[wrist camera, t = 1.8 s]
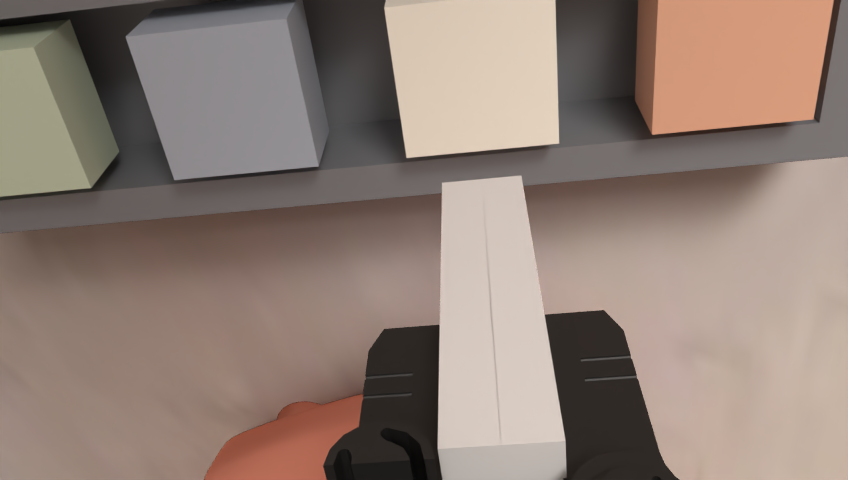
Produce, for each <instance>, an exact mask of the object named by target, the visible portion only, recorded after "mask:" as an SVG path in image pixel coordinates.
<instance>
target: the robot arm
mask: <svg viewBox="0 0 848 480" xmlns="http://www.w3.org/2000/svg"><path fill="white" fill-rule="evenodd" d="M323 468H324V471H325V475H326V479H327V480H679V479H678V478H676V477H675V476H674V475H673V473H672V472H671V471H670V470H669V469H668V467H667V466H666V465H665V463H664V461H663V459H662V456H661V454H660V452H659V449H658V445H657V442H656V439H655V435H654V432H653V429H652V425H651V422H650V418H649V415H648V412H647V408H646V405H645V401H644V398H643V395H642V391H641V388H640V385H639V381H638V379H637V376H636V371H635V368H634V364H633V361H632V359H631V354H630V351H629V347H628V344H627V341H626V337H625V334H624V331H623V329H622V328H621V327H620V326H619V325H618V324H617V323H616V322H615V321H614V320H613V319H612V318H611V317H610V316H609V315H608V314H607V313H606V312H605V311H604V310H600V311H587V312H574V313H561V314H548V315H545V314H544V308H543V302H542V296H541V290H540V284H539V278H538V272H537V266H536V260H535V254H534V248H533V242H532V236H531V230H530V224H529V218H528V212H527V206H526V200H525V194H524V188H523V182H522V176H510V177H499V178H488V179H477V180H467V181H456V182H445V183H442V218H441V278H440V325H430V326H417V327H404V328H391V329H384V330H383V331H382V333H381V334H380V336H379V337H378V339H377V340H376V341H375V343H374V344H373V346H372V347H371V349H370V350H369V353H368V360H367V368H366V380H365V383H364V390H363V400H362V406H361V413H360V421H359V427H357V428H355V429H353V430H352V431H350V432H348V433H346V434H344V435H343V436H342V437H341V438H340V439H339V440H338V441H337V442H336V443H335V444H334V445H333V446H332V447H331V448H330V450H329V452H328V455H327V457H326V459H325V462H324V464H323Z"/></svg>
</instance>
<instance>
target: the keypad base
mask: <svg viewBox="0 0 848 480" xmlns="http://www.w3.org/2000/svg"><path fill="white" fill-rule="evenodd" d="M223 1H231V0H0V27H6V26H15V25H24V24H32V23H41V22H50V21H58V20H67V19H70V21H71V24H72V27H73V29H74V32H75V35H76V37H77V40H78V43H79V45H80V48H81V51H82V53H83V56H84V59H85V61H86V64H87V67H88V69H89V72H90V75H91V77H92V80H93V83H94V85H95V88H96V91H97V93H98V96H99V99H100V101H101V104H102V107H103V109H104V112H105V115H106V117H107V120H108V123H109V125H110V128H111V131H112V133H113V136H114V139H115V141H116V144H117V147H118V149H119V153H118V154H117V155H116V157H115V158H114V159H113V160H112V162H111V163H110V164H109V166H108V167H107V168H106V169H105V171H104V172H103V173H102V175H101V176H100V177H99V179H98V180H97V181H96V182H95V184H94V185H93V186H92V188H86V189H76V190H65V191H55V192H44V193H34V194H23V195H13V196H2V197H0V233H9V232H20V231H31V230H42V229H53V228H64V227H75V226H86V225H97V224H108V223H119V222H130V221H141V220H152V219H163V218H175V217H186V216H197V215H208V214H219V213H230V212H241V211H252V210H263V209H274V208H285V207H296V206H307V205H318V204H329V203H340V202H351V201H362V200H373V199H384V198H395V197H406V196H417V195H428V194H440V193H442V183H445V182H456V181H467V180H477V179H488V178H499V177H510V176H522V182H523V186H528V185H539V184H550V183H561V182H572V181H583V180H594V179H605V178H616V177H627V176H638V175H649V174H660V173H671V172H682V171H693V170H704V169H716V168H727V167H738V166H749V165H760V164H771V163H782V162H793V161H804V160H815V159H826V158H837V157H848V0H834V2H833V8H832V14H831V20H830V25H829V31H828V37H827V43H826V49H825V55H824V61H823V66H822V72H821V78H820V84H819V90H818V96H817V102H816V107H815V113H814V119H812V120H802V121H791V122H781V123H770V124H760V125H749V126H739V127H728V128H718V129H707V130H697V131H686V132H676V133H665V134H655V135H652V134H651V132H650V130H649V128H648V126H647V124H646V122H645V120H644V118H643V116H642V114H641V112H640V110H639V108H638V106H637V104H636V102H635V83H636V52H637V20H638V0H555V5H556V43H557V80H558V118H559V144H549V145H539V146H528V147H518V148H507V149H497V150H486V151H476V152H465V153H455V154H444V155H434V156H423V157H412V158H406V151H405V144H404V138H403V131H402V124H401V118H400V111H399V104H398V97H397V91H396V84H395V77H394V71H393V64H392V57H391V50H390V44H389V37H388V30H387V23H386V17H385V10H384V6H385V2H386V0H303V5H304V10H305V15H306V20H307V25H308V30H309V35H310V39H311V44H312V49H313V54H314V59H315V64H316V69H317V73H318V78H319V83H320V88H321V93H322V98H323V103H324V107H325V112H326V117H327V122H328V127H329V134H328V137H327V140H326V144H325V147H324V150H323V154H322V157H321V161H320V164H319V166H318V167H307V168H297V169H286V170H276V171H265V172H255V173H244V174H234V175H223V176H212V177H202V178H191V179H181V180H174V178H173V175H172V172H171V169H170V166H169V163H168V160H167V157H166V154H165V151H164V148H163V146H162V143H161V140H160V137H159V134H158V131H157V128H156V125H155V122H154V119H153V116H152V113H151V110H150V107H149V104H148V101H147V98H146V96H145V93H144V90H143V87H142V84H141V81H140V78H139V75H138V72H137V69H136V66H135V63H134V60H133V57H132V54H131V51H130V48H129V46H128V43H127V40H126V36H127V35H128V34H129V33H130V32H131V31H132V30H133V29H134V28H135V27H136V26H137V25H138V24H139V23H140V22H141V21H143V20H144V19H145V18H146V17H147V16H148V15H149V14H150V13H151V12H152V11H153V10H154V9H162V8H171V7H179V6H188V5H197V4H205V3H214V2H223Z"/></svg>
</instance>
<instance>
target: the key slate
mask: <svg viewBox="0 0 848 480" xmlns="http://www.w3.org/2000/svg"><path fill="white" fill-rule="evenodd" d="M126 40H127V43H128V46H129V48H130V51H131V54H132V57H133V60H134V63H135V66H136V69H137V72H138V75H139V78H140V81H141V84H142V87H143V90H144V93H145V96H146V98H147V101H148V104H149V107H150V110H151V113H152V116H153V119H154V122H155V125H156V128H157V131H158V134H159V137H160V140H161V143H162V146H163V148H164V151H165V154H166V157H167V160H168V163H169V166H170V169H171V172H172V175H173V178H174V180H181V179H191V178H202V177H212V176H223V175H234V174H244V173H255V172H265V171H276V170H286V169H297V168H307V167H318V166H319V164H320V161H321V157H322V154H323V150H324V147H325V144H326V140H327V137H328V134H329V127H328V122H327V117H326V112H325V107H324V103H323V98H322V93H321V88H320V83H319V78H318V73H317V69H316V64H315V59H314V54H313V49H312V44H311V39H310V35H309V30H308V25H307V20H306V15H305V10H304V5H303V0H231V1H223V2H214V3H205V4H197V5H188V6H179V7H171V8H162V9H154V10H153V11H152V12H151V13H150V14H149V15H148V16H147V17H146V18H145V19H144V20H143V21H141V22H140V23H139V24H138V25H137V26H136V27H135V28H134V29H133V30H132V31H131V32H130V33H129V34H128V35H127V36H126Z"/></svg>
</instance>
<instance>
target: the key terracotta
mask: <svg viewBox="0 0 848 480" xmlns="http://www.w3.org/2000/svg"><path fill="white" fill-rule="evenodd" d="M833 2H834V0H638V20H637V52H636V83H635V102H636V104H637V106H638V108H639V110H640V112H641V114H642V116H643V118H644V120H645V122H646V124H647V126H648V128H649V130H650V132H651V134H652V135H655V134H665V133H676V132H686V131H697V130H707V129H718V128H728V127H739V126H749V125H760V124H770V123H781V122H791V121H802V120H812V119H814V113H815V107H816V102H817V96H818V90H819V84H820V78H821V72H822V66H823V61H824V55H825V49H826V43H827V37H828V31H829V25H830V20H831V14H832V8H833Z"/></svg>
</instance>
